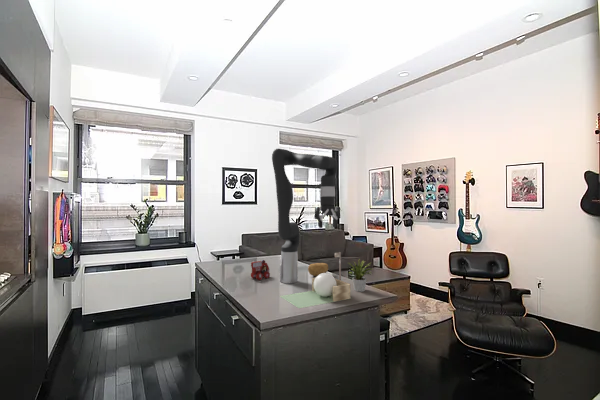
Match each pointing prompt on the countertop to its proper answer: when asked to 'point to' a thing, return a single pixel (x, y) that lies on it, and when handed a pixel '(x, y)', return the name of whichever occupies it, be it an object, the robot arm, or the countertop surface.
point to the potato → (317, 268)
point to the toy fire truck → (260, 270)
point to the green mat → (307, 299)
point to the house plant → (359, 276)
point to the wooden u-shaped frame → (338, 285)
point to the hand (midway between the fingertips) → (327, 227)
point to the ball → (324, 284)
